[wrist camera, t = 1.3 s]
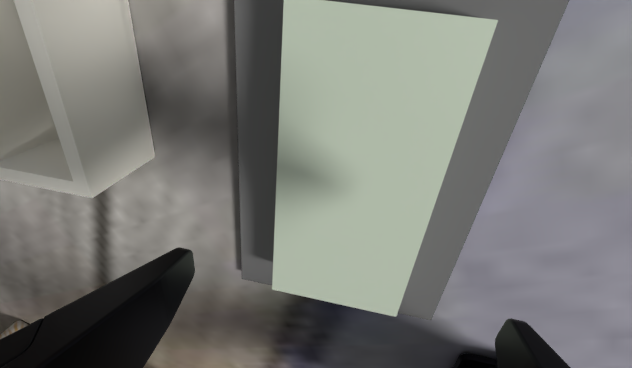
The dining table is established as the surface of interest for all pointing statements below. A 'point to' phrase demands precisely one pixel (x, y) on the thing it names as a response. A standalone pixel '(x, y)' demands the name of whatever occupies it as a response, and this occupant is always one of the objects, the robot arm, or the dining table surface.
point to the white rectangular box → (70, 95)
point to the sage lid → (365, 143)
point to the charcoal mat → (468, 155)
